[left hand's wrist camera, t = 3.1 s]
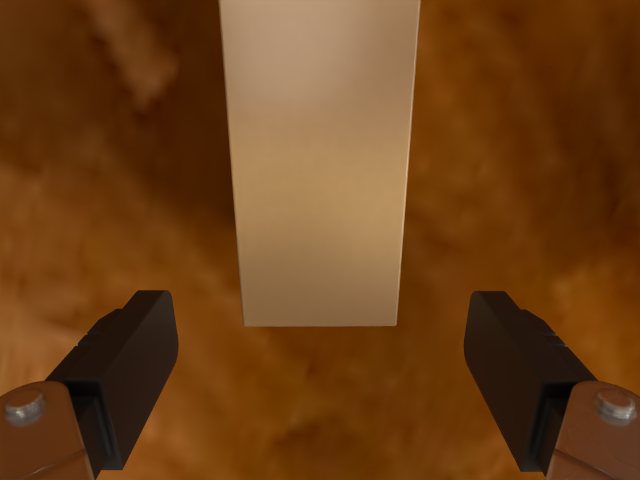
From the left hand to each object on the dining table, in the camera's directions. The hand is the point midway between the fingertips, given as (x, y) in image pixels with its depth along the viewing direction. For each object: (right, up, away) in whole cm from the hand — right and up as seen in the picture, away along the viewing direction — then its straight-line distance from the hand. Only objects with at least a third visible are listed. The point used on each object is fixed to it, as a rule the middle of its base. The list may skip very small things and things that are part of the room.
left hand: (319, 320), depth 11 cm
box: (0, +12, +12) cm, 17 cm away
